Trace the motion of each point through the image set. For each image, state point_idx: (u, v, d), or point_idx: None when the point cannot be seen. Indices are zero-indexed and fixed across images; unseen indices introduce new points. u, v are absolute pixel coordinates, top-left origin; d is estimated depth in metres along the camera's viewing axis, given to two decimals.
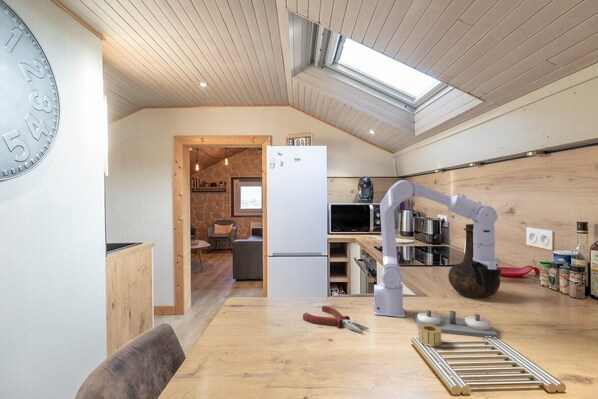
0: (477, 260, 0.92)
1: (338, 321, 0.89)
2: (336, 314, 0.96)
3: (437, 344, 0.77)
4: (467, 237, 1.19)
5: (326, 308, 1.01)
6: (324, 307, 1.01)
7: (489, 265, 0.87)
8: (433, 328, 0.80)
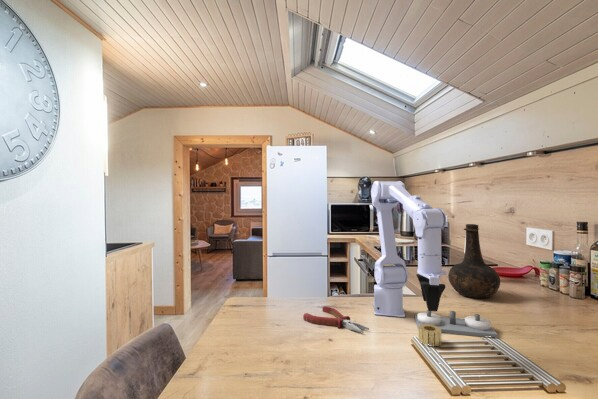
0: (420, 273, 0.78)
1: (339, 321, 0.89)
2: (337, 314, 0.96)
3: (437, 344, 0.77)
4: (467, 237, 1.19)
5: (327, 308, 1.01)
6: (325, 307, 1.01)
7: (431, 280, 0.73)
8: (433, 328, 0.80)
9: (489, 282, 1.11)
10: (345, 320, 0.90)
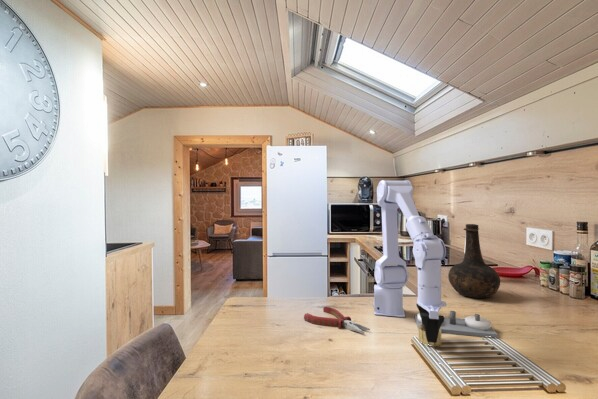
0: (420, 304, 0.78)
1: (339, 322, 0.88)
2: (337, 315, 0.95)
3: (437, 344, 0.77)
4: (467, 237, 1.19)
5: (328, 308, 1.00)
6: (325, 308, 1.01)
7: (430, 314, 0.72)
8: None
9: (489, 282, 1.11)
10: (346, 320, 0.90)
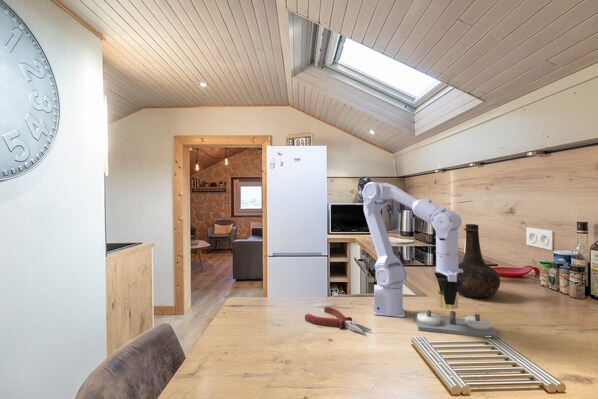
0: (439, 271, 0.85)
1: (340, 322, 0.88)
2: (338, 315, 0.95)
3: (455, 306, 0.84)
4: (467, 237, 1.19)
5: (329, 308, 1.00)
6: (326, 308, 1.01)
7: (449, 277, 0.80)
8: None
9: (489, 282, 1.11)
10: (347, 321, 0.89)
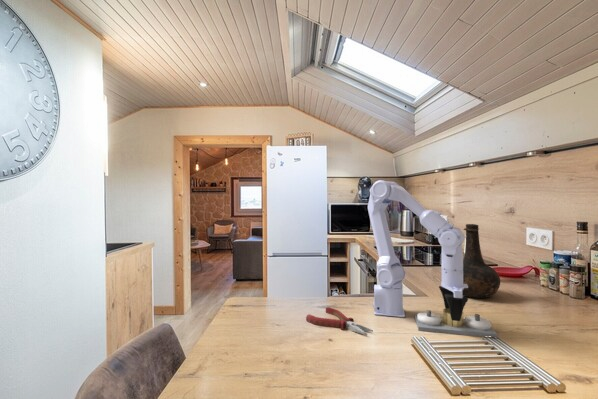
0: (444, 286, 0.87)
1: (342, 323, 0.87)
2: (340, 316, 0.95)
3: (460, 325, 0.86)
4: (467, 237, 1.19)
5: (330, 309, 0.99)
6: (328, 309, 1.00)
7: (455, 293, 0.82)
8: None
9: (489, 282, 1.11)
10: (348, 322, 0.89)
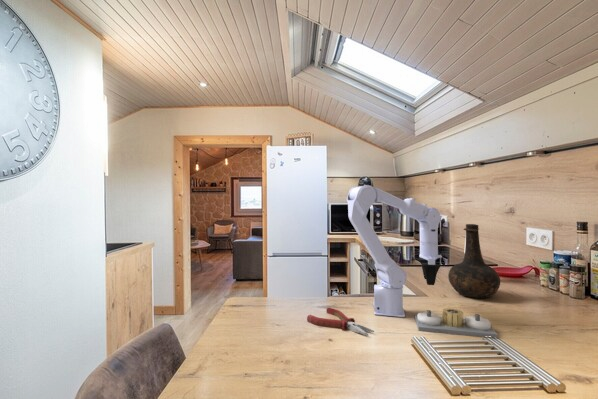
0: (421, 256, 1.02)
1: (343, 323, 0.87)
2: (341, 316, 0.94)
3: (460, 325, 0.86)
4: (467, 237, 1.19)
5: (331, 309, 0.99)
6: (329, 309, 1.00)
7: (429, 261, 0.97)
8: (456, 311, 0.89)
9: (489, 282, 1.11)
10: (349, 322, 0.89)
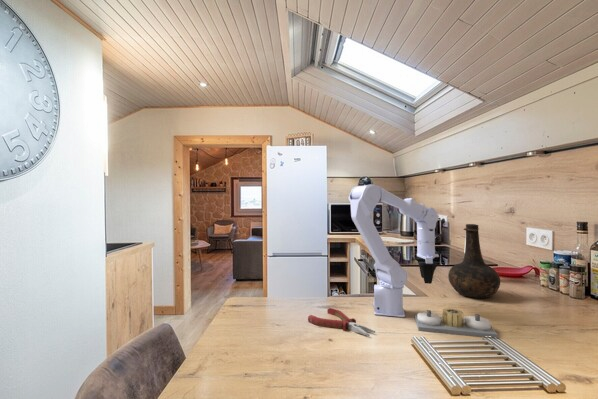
0: (419, 255, 1.04)
1: (344, 324, 0.87)
2: (342, 316, 0.94)
3: (460, 325, 0.86)
4: (467, 237, 1.19)
5: (332, 310, 0.99)
6: (330, 309, 1.00)
7: (426, 260, 0.99)
8: (456, 311, 0.89)
9: (489, 282, 1.11)
10: (351, 322, 0.88)
